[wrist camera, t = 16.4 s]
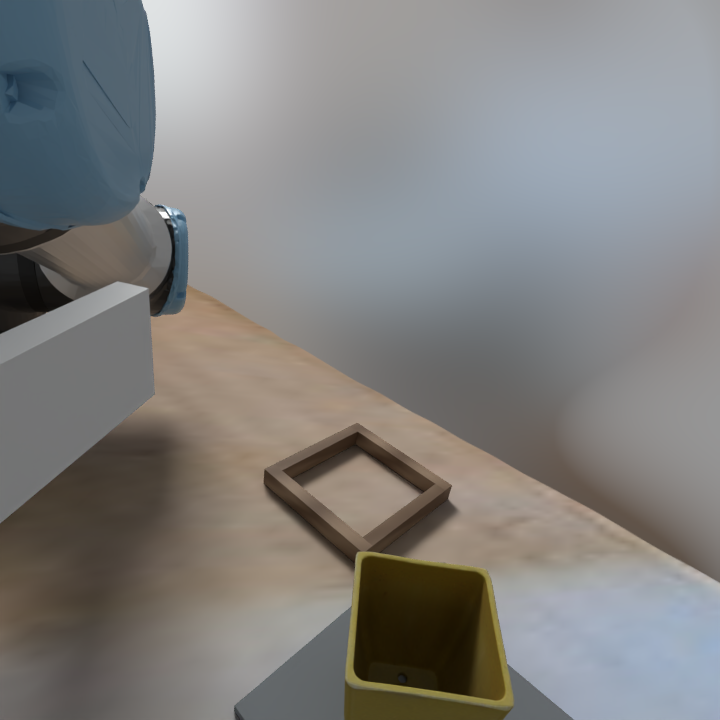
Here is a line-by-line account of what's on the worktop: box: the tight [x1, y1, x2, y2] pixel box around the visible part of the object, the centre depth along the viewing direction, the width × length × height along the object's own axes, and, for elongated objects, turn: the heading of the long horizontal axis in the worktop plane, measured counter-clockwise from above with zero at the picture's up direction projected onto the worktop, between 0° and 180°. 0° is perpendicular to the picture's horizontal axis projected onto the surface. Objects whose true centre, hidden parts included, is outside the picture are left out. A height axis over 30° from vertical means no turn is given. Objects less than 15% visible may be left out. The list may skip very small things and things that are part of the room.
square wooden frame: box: [264, 423, 452, 563], centre depth 52 cm, size 13×13×2 cm
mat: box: [234, 606, 573, 720], centre depth 33 cm, size 16×16×1 cm
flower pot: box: [344, 552, 514, 720], centre depth 32 cm, size 9×9×9 cm
